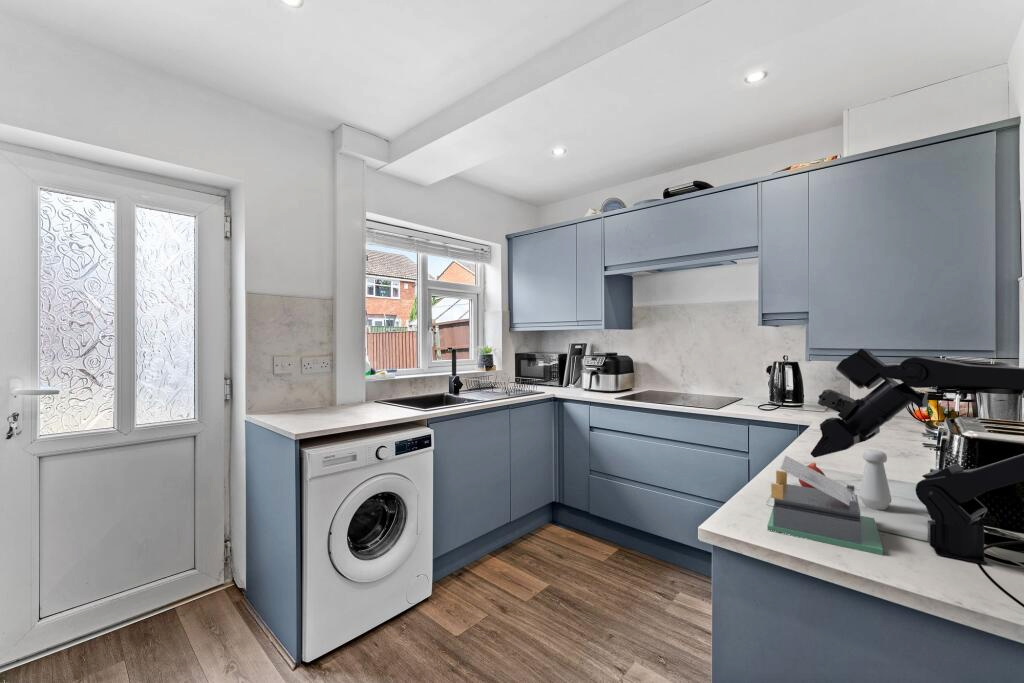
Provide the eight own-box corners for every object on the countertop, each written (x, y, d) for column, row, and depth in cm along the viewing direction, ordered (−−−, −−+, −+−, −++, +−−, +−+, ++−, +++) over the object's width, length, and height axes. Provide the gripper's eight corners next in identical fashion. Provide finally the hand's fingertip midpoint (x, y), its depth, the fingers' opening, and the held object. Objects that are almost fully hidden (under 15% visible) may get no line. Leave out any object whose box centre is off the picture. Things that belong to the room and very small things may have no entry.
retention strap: (852, 495, 92) (855, 490, 91) (855, 510, 84) (858, 505, 84) (783, 459, 99) (786, 454, 98) (779, 469, 91) (782, 464, 91)
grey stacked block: (856, 515, 94) (856, 479, 94) (861, 544, 81) (861, 502, 81) (777, 501, 102) (777, 468, 102) (770, 525, 89) (770, 487, 89)
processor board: (874, 522, 92) (874, 518, 92) (882, 555, 79) (882, 549, 79) (775, 504, 103) (775, 500, 103) (767, 530, 89) (767, 525, 89)
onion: (801, 496, 108) (801, 464, 108) (796, 489, 114) (796, 458, 114) (829, 499, 106) (829, 466, 106) (823, 491, 111) (822, 460, 111)
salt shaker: (897, 512, 98) (897, 454, 98) (868, 510, 99) (868, 453, 99) (881, 503, 104) (881, 448, 104) (853, 501, 105) (853, 447, 105)
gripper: (858, 375, 99) (805, 419, 107) (828, 379, 88) (772, 429, 96) (906, 412, 92) (846, 457, 101) (881, 422, 81) (816, 471, 89)
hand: (820, 452), depth 97 cm, fingers open, 9 cm apart
